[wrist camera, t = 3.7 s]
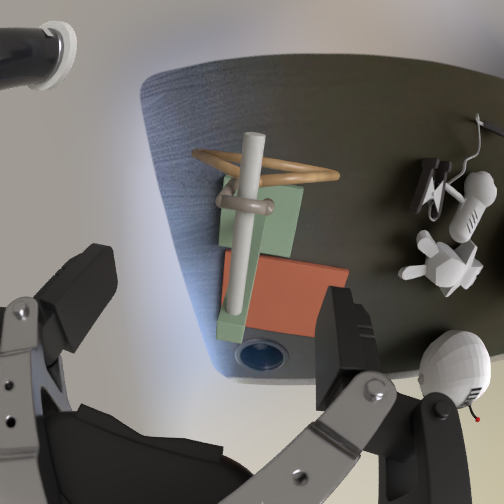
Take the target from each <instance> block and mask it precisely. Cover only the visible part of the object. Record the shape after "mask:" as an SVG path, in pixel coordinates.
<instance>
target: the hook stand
mask: <svg viewBox="0 0 504 504" xmlns="http://www.w3.org/2000/svg"><path fill="white" fill-rule="evenodd" d="M264 143H265V135H264V134H261V133H255V132H245V133H244V139H243V147H242V156H241V165H240V174H239V183H238V189H237V191H236V193H235V194H234V196H237V197H243V198H249V199H255V200H261V201H262V200H263V199H265V198H270V199H272V200H273V201H274V204H275V206H274V210H273V212H272V214H270V215H268V216H266V215H260V214H254V213H248V212H242V211H236V210H230V209H224V208H221V217H220V230H219V244H218V245H219V246H223V247H229V248H232V251H231V261H230V272H229V283H228V288H227V291H226V294H225V297H224V301H223V304H222V307H221V310H220V313H219V317H218V320H217V331H216V339H219V340H224V341H229V342H235V343H240V344H241V343H242V339H243V334H244V329H245V324H246V319H247V314H248V310H249V305H250V300H251V295H252V290H253V285H254V280H255V275H256V270H257V265H258V260H259V255H260V253H265V254H271V255H277V256H283V257H290V253H291V249H292V244H293V239H294V234H295V230H296V225H297V220H298V215H299V210H300V205H301V200H302V195H303V187H301V186H296V185H280V186H270V187H261V188H258V187H259V179H260V172H261V165H262V157H263V150H264ZM231 178H233V177H231V176H229V175H225V177H224V182H223V188H224V187H225V185H226V184H227V183H228V181H229V180H230V179H231Z"/></svg>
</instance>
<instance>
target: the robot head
mask: <svg viewBox="0 0 504 504" xmlns="http://www.w3.org/2000/svg"><path fill="white" fill-rule="evenodd" d="M490 373H491V372H490V358H489V354H488V352H487V350H486V348H485V345H484V344H483V342H482V340H481V339H480V338H479V337H478V336H476V335H475V334H473V333H470V332H466V331H459V330H450V331H447V332H445V333H444V334H442V335H441V336H440V337H439V338H437V339H436V340H435V341H433V342H432V343H431V344H430V345H429V347H428V348H427V349H426V351H425V352H424V355H423V357H422V360H421V364H420V369H419V378H418V382H419V384H420V388H421V391H422V394H423V396H424V397H425V396H426V395H427V394H429V393H432V392H440V393H443V394H445V395H447V396H448V397H450V398H451V399H452V400H453V402H454V403H455V405H456V407H457V409H460V408H463V407H466V406H468V407H469V409H470V412H471V414H472V416H473V417H474V418H475V419H476V422H479V421H480V418H479V417H476V416H475V415H474V413H473V411H472V408H471V404H472V402H473V401H475V400H476V399H477V398H479V397H480V396H481V395H482V394H483V393H484V391H485V390H486V389H487V387H488V385H489V382H490Z"/></svg>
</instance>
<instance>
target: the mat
mask: <svg viewBox="0 0 504 504" xmlns="http://www.w3.org/2000/svg"><path fill="white" fill-rule="evenodd" d="M231 251H232V250H229V249H226V252H225V262H224V275H223V287H222V300H221V307H222V304H223V301H224V297H225V294H226V291H227V288H228V283H229V272H230V261H231ZM348 274H349V271H348V269H343V268H337V267H331V266H325V265H319V264H313V263H307V262H301V261H295V260H289V259H283V258H277V257H271V256H265V255H259V260H258V265H257V270H256V275H255V280H254V285H253V290H252V295H251V300H250V305H249V310H248V314H247V319H246V324H245V327H251V328H257V329H263V330H269V331H275V332H282V333H288V334H295V335H302V336H310V337H315V326H316V321H317V317H318V314H319V311H320V308H321V305H322V302H323V299H324V296H325V293H326V290H327V288H328V286H329V285H330V286H337V287H343V288H344V285H345V282H346V279H347V276H348Z"/></svg>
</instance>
